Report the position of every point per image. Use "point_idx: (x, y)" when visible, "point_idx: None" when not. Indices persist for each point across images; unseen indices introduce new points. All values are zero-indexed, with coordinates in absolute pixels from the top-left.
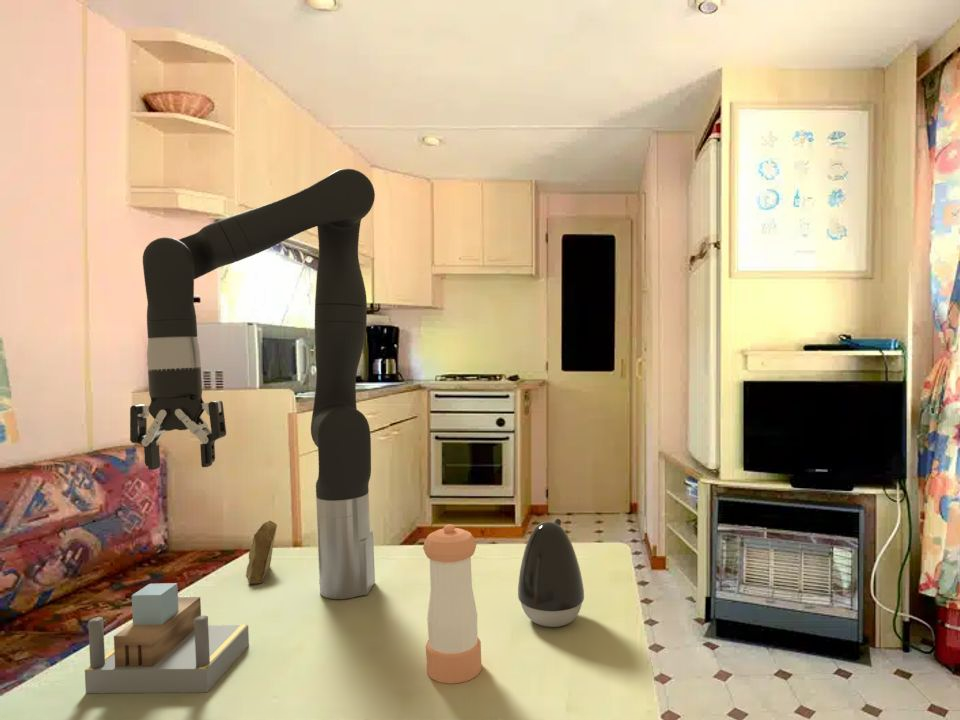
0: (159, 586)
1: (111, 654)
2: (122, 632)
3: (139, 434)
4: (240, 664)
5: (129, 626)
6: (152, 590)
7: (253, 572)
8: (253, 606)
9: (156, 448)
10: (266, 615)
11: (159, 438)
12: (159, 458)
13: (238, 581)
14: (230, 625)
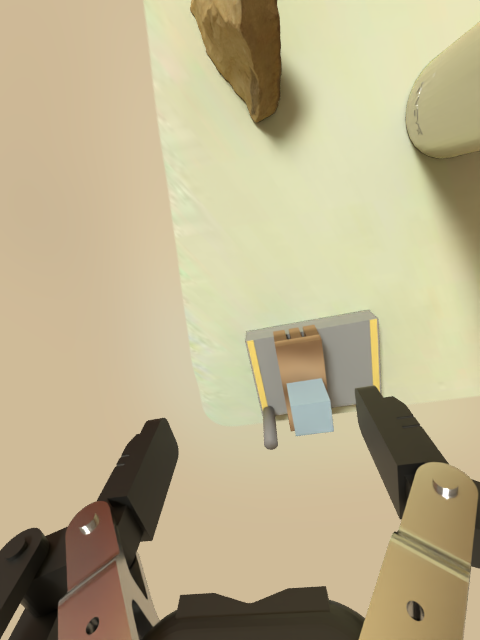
0: (312, 412)
1: (265, 394)
2: (293, 424)
3: (28, 601)
4: (379, 344)
5: (290, 413)
6: (312, 422)
7: (262, 108)
8: (314, 207)
9: (141, 497)
10: (350, 232)
11: (116, 531)
12: (152, 441)
13: (223, 107)
14: (355, 323)
